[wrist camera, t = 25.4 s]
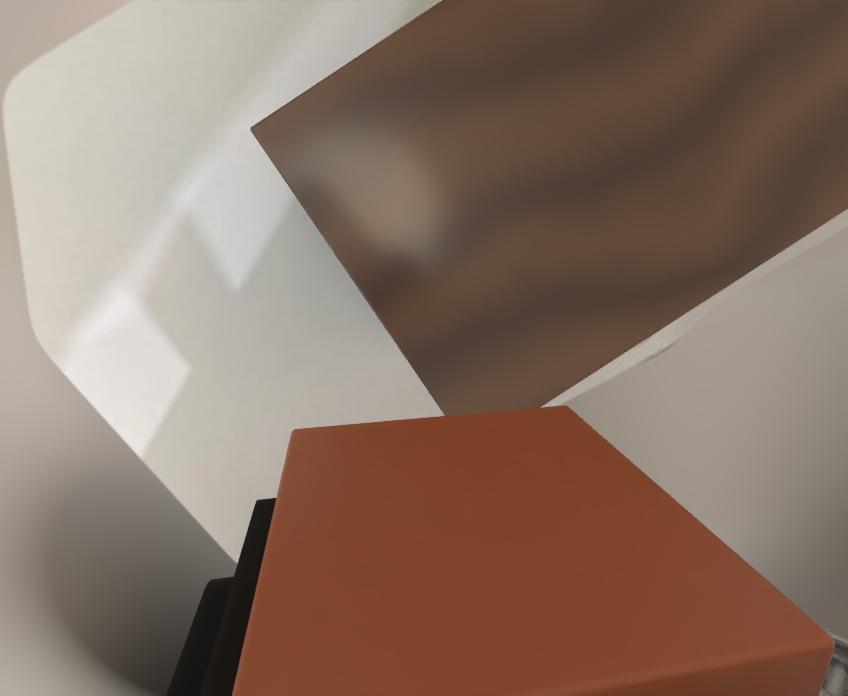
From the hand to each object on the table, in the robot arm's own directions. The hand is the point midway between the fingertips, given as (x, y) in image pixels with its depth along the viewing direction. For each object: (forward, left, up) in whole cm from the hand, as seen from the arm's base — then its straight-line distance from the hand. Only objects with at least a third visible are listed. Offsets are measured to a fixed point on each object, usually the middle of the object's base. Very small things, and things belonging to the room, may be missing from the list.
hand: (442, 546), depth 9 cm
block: (0, 0, 0) cm, 1 cm away
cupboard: (+11, +9, -38) cm, 40 cm away
